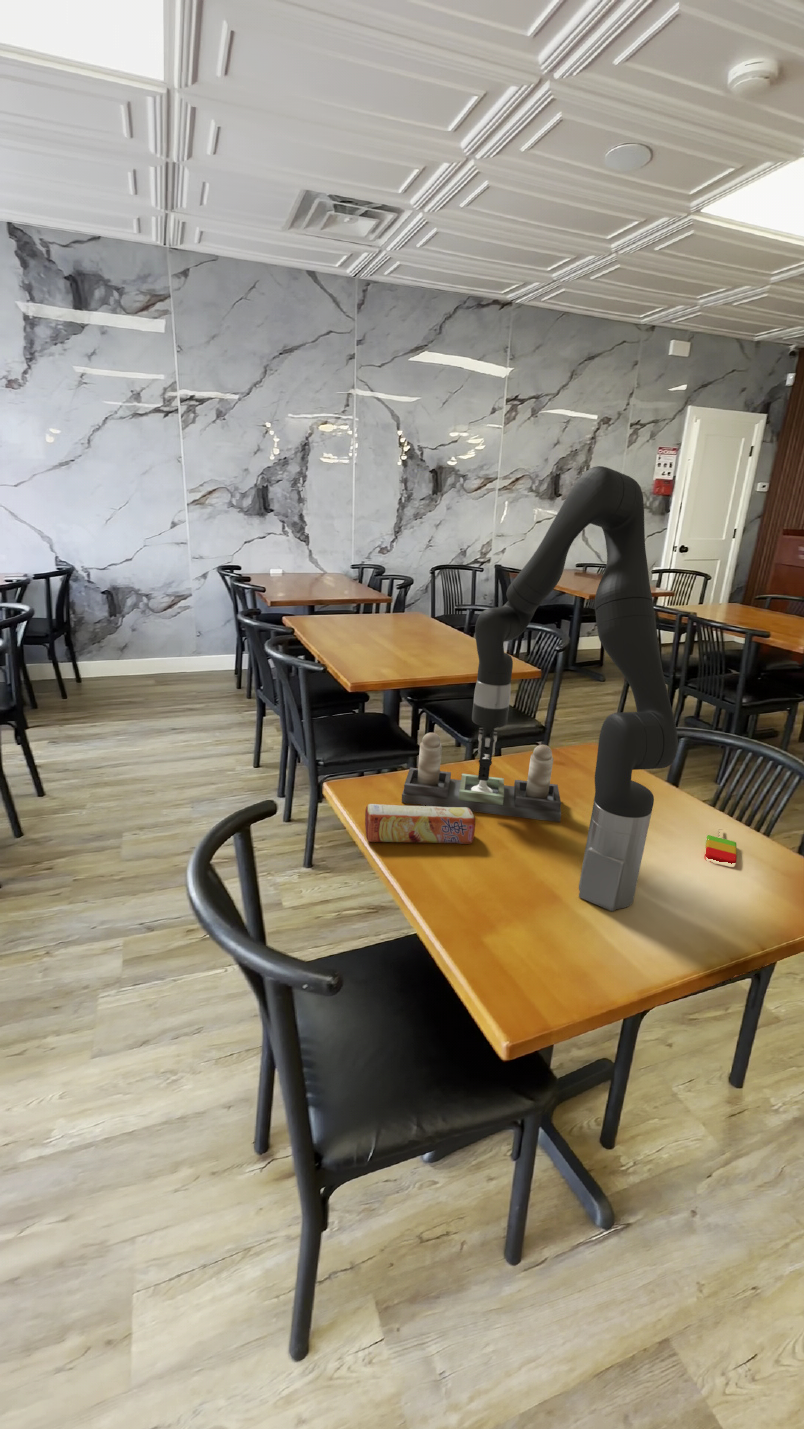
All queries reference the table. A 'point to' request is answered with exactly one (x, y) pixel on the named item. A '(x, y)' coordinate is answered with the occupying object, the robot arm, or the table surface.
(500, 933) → the table surface
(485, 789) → the chess piece
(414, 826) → the snack package
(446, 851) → the table surface
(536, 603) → the robot arm
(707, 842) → the popsicle
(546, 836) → the table surface
